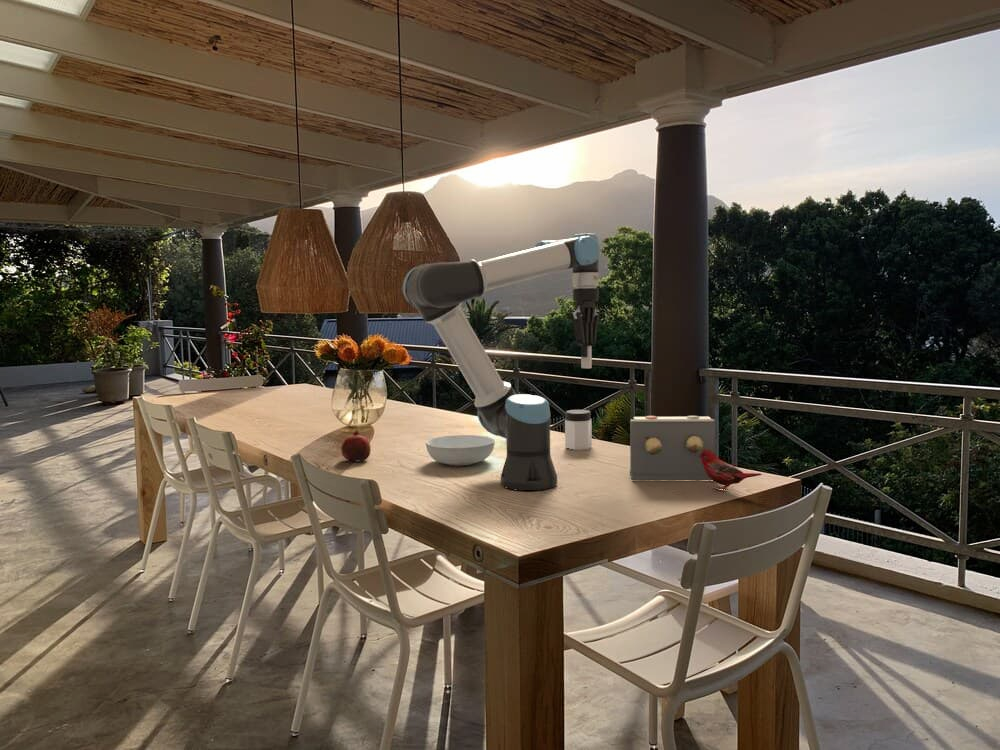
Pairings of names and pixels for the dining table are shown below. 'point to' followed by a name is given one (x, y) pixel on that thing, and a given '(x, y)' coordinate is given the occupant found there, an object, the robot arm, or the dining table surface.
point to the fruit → (356, 447)
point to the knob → (694, 443)
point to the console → (669, 447)
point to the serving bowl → (460, 449)
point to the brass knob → (653, 445)
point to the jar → (578, 430)
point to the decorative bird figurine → (722, 470)
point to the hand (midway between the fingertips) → (586, 367)
